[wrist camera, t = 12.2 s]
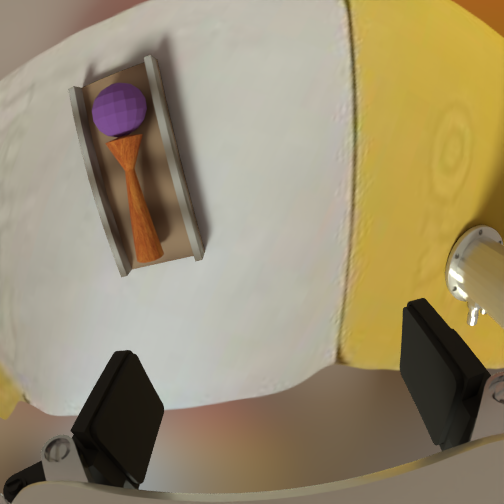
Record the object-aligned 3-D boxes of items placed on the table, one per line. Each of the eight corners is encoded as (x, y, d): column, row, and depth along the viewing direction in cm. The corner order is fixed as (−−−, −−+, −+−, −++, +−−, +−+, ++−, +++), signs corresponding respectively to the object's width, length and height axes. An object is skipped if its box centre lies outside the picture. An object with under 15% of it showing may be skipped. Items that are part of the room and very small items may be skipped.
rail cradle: (205, 251, 39) (202, 259, 36) (128, 267, 39) (121, 277, 37) (157, 60, 30) (150, 54, 28) (79, 90, 31) (68, 88, 28)
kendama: (117, 269, 33) (77, 92, 26) (139, 247, 39) (107, 92, 31) (163, 266, 32) (125, 74, 24) (181, 244, 38) (151, 78, 30)
